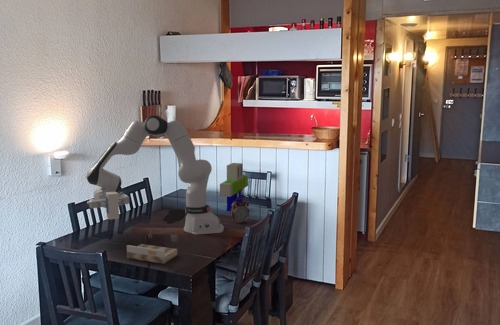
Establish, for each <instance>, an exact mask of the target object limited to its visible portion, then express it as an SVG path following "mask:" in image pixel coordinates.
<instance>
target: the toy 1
mask: <svg viewBox="0 0 500 325" xmlns="http://www.w3.org/2000/svg"><path fill="white" fill-rule="evenodd" d="M184 217H186V214H185V209H173V208H172V209H169V211H168V213H167V214H166V215H165V217H163V218H162V219H161V221H162V222H163V221H165V222H166V224H170V225H171V224H174V223H175V222H179V221H182V219H183V218H184Z"/></svg>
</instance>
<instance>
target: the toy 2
mask: <svg viewBox="0 0 500 325" xmlns="http://www.w3.org/2000/svg"><path fill="white" fill-rule="evenodd" d="M243 164H244V163H243V162H242V163H241V162H232V163H231V162H230V163H229V164H227V165H226V180H225V181H222V182H221V183H219V196H220V197H226V212H227V211H230V212H231V209H232V203H233V201H234V202H238V203H241V204H242V202H243V201H244V199H238V198H244V196H243V191H244V190H243V189H245V188H247V187H248V186H249V174H243V171H244V170H243ZM236 199H237V200H236ZM235 200H236V201H235ZM230 212H229V213H230Z"/></svg>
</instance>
